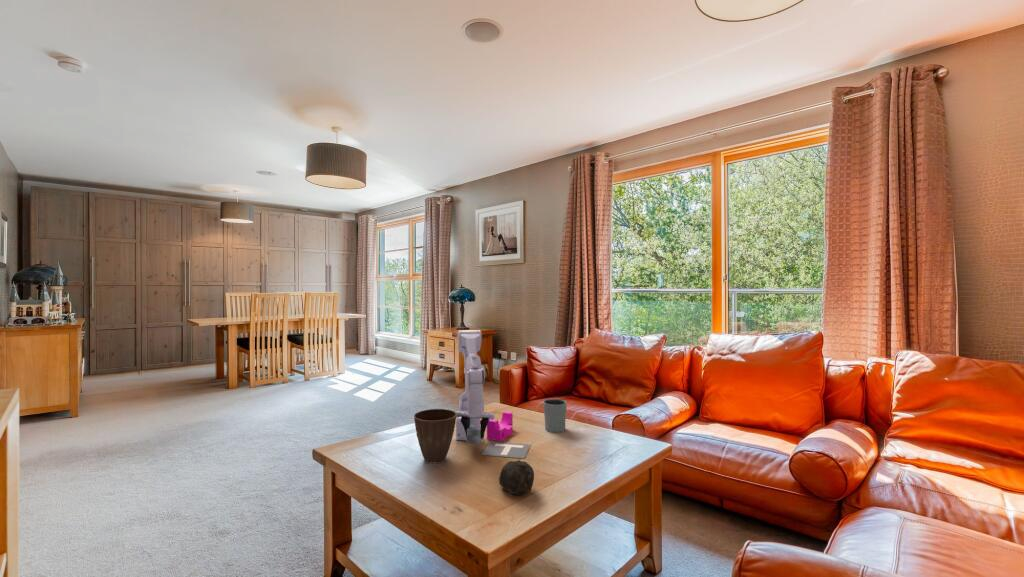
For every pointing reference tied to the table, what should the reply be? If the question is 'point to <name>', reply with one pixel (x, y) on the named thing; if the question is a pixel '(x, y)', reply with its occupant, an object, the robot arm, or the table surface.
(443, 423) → the plant pot
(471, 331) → the robot arm
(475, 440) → the gray cube
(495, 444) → the board
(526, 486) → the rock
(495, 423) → the toy block
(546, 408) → the gray cup
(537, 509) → the table surface
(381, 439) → the table surface
